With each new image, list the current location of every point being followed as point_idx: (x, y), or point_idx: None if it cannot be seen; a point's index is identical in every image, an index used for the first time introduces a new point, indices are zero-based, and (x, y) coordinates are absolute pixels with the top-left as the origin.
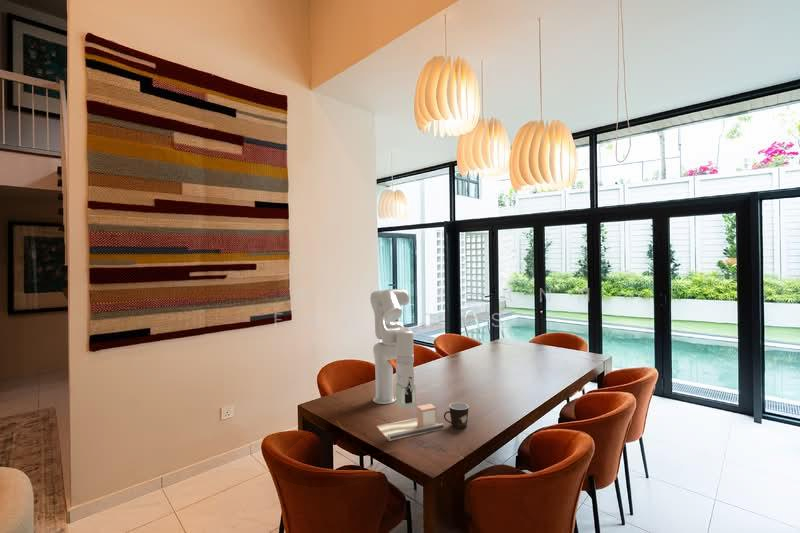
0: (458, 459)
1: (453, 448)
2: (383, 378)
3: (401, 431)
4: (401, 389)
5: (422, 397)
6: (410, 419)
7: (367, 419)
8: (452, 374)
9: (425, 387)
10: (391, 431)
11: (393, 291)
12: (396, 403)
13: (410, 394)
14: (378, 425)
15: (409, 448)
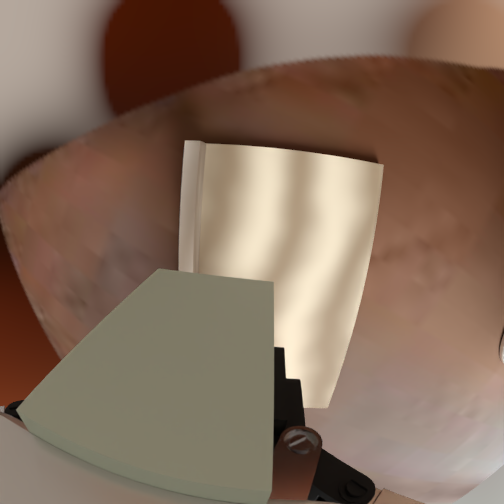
0: (30, 299)
1: (75, 331)
2: None
3: (250, 244)
4: (52, 391)
5: (451, 431)
6: (344, 344)
7: (470, 183)
8: (458, 489)
9: (476, 445)
10: (279, 199)
11: None
12: (269, 284)
13: None
14: (380, 177)
15: (114, 204)
